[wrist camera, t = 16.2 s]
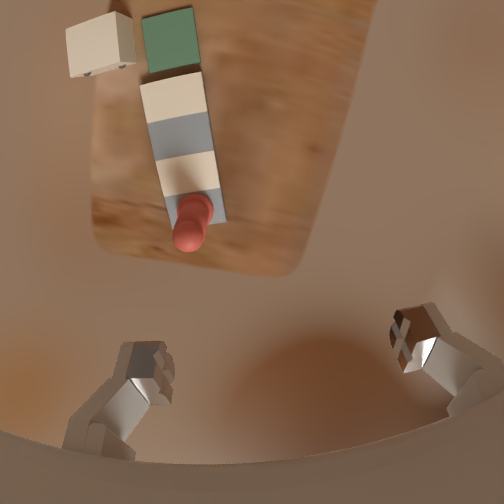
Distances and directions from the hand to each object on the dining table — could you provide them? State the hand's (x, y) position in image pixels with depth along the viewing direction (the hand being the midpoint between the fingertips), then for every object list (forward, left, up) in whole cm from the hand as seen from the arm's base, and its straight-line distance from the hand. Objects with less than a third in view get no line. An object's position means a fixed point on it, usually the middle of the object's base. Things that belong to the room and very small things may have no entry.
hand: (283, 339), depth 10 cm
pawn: (+5, -6, -23) cm, 24 cm away
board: (-1, -6, -24) cm, 25 cm away
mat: (-13, -6, -24) cm, 28 cm away
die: (-14, -10, -22) cm, 27 cm away
